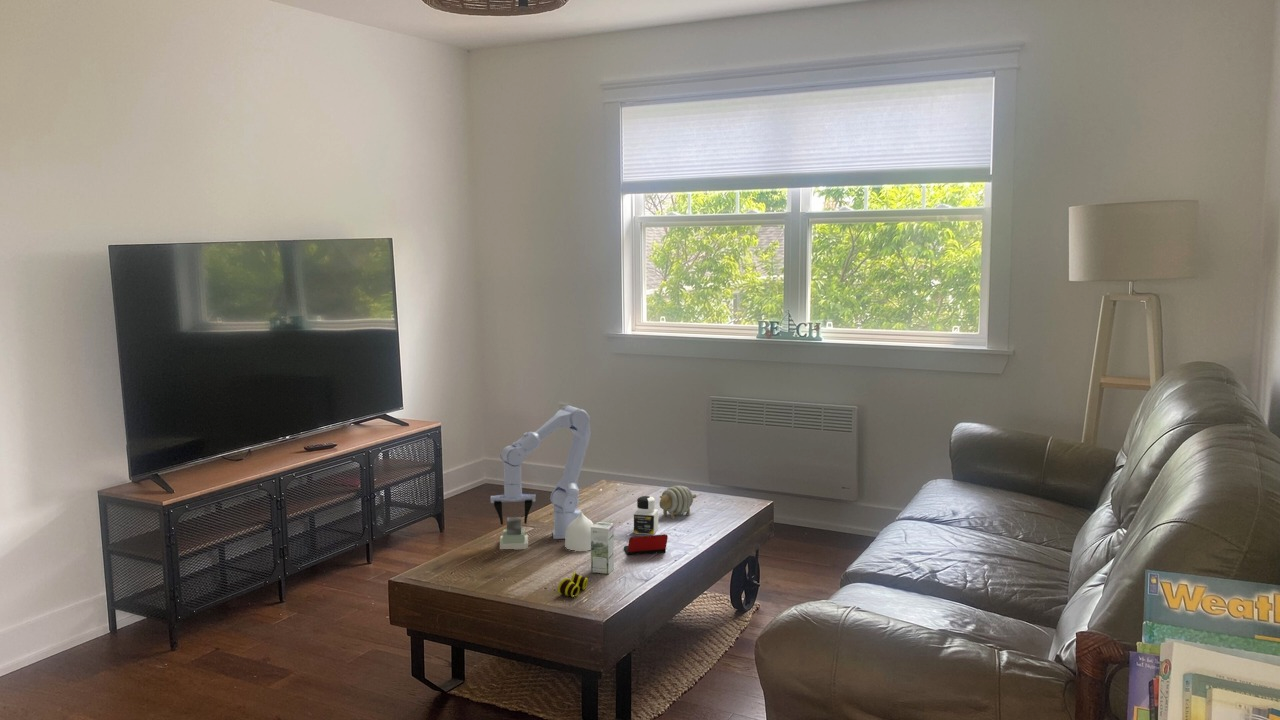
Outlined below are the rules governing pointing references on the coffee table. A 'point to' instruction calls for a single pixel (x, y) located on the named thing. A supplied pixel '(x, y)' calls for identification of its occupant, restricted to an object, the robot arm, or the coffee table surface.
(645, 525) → the medicine bottle
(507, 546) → the tower base slab
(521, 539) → the tower top slab
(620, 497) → the coffee table surface
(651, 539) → the handheld game console
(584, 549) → the teardrop
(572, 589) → the opera glasses
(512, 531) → the slate cube
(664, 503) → the toy sheep
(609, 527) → the syrup box
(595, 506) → the coffee table surface
